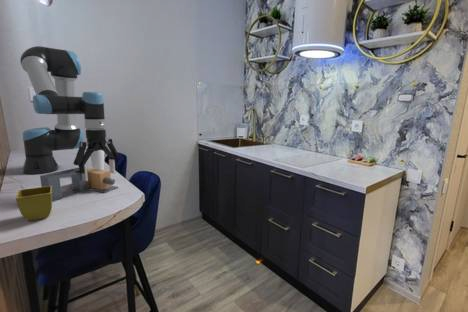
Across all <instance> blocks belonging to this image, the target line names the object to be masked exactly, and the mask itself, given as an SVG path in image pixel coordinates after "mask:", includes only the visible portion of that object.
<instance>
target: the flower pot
mask: <svg viewBox="0 0 468 312" xmlns="http://www.w3.org/2000/svg"><path fill="white" fill-rule="evenodd" d="M15 200H16V201H15V202H16V203H17V204H16V205H17V206H18V209H19V212H20V214H21V215H22V217H23V218H24V219H26V220H27V221H28V222H30V221H31V222H32V221H36V220H41V219H46V218H48V217H50V215H51V213H52V206H53V202H52V186H45V187H41V186H40V187H32V188H26V189H19V190H17V194H16V197H15Z"/></svg>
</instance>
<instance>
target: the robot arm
mask: <svg viewBox="0 0 468 312" xmlns="http://www.w3.org/2000/svg"><path fill="white" fill-rule="evenodd" d="M19 62H20V66H21V68H22V69H23V71H25V72H26V73H27V75H28V78H29V81H30V83H31V86H32V89H33V90H34V93H35V94H34V95H33V96H32V106H33V108H34V109H33V111H34V112H35V113H36V114H38V115H56V116H57V117H56V118H57V119H56V120H57V124H55V125H54V129H51V128H50V127H48V126H47V127H46V126H45V127H35V128H31V129H26V130H23V132H22V141H23V146H24V147H23V148H24V155H25V159H24V164H23V166H22V172H23V174H25V175H41V174H47V173H48V174H50V173H54V172H55V171H56V172H57V171H58V170H59V165H58V163H57V161H56V159H55V157H54V153H53V151H65V150H78V151H77V152H76V155H75V158H74V161H73V163H72V164H73V165H74V166H78V168H79V172H80V173H81V175H82V180H83V181H88V175H87V162H88V160H89V159H90V158H91V154H92V153H93V152H94V151H98V150H103V151H104V154H105V155H107V156H108V158H109V159H108V165H109V167H108V168H109V171H110V174H113V175H114V174H116V165H117V163H116V162H117V161H116V160H118V158H120V155H119V152H118V150H117V149H116V147H115V145H114V143H113V139H112V138H109V137H108V138H107V131H106V118H105V104H104V102H105V101H104V96H103V93H102V92H99V91H98V92H96V91H95V92H94V91H84V92H82V96H75V94H76V92H75V91H76V90H75V81H76V80H78V76H80V75H81V73H82V67H81V66H82V65H81V61H80V58H79V56H78V55H77V53H75V52H74V51H71V50H67V49H60V48H54V47H53V48H52V47H47V46H46V47H45V46H42V45H41V46H40V45H39V46H32V47H29V48H28V49H25V50H24V51H23V53H22V54H21V55H20V61H19ZM49 73H50V74H49ZM51 77H52V78H53V79H54V81H53V80H52V78H51ZM77 115H84V117H83V118H84V128H85V137H86V141H84V131H83V129H81V128H80V126H79V125H78V123H77V119H76V116H77ZM106 145H107V146H106ZM90 149H91V150H90Z"/></svg>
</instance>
